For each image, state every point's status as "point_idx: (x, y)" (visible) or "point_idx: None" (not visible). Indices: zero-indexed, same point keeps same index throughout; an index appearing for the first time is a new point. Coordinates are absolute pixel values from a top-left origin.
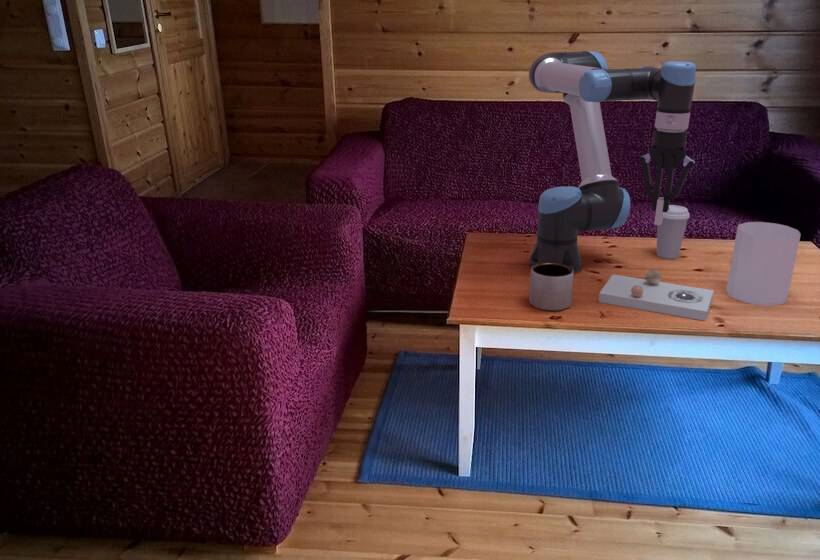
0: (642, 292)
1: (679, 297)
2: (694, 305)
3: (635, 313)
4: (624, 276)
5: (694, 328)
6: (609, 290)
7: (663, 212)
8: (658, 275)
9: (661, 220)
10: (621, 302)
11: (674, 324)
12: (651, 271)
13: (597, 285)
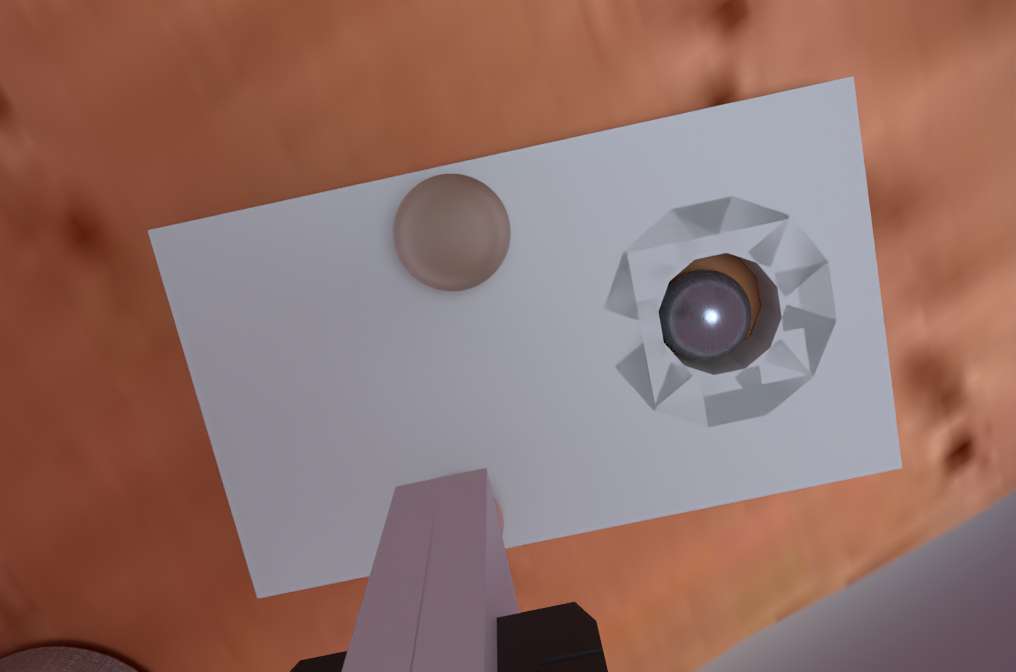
0: (503, 530)
1: (696, 358)
2: (812, 422)
3: (515, 585)
4: (234, 215)
5: (847, 573)
6: (284, 522)
7: (489, 559)
8: (498, 256)
9: (510, 599)
10: None
11: (743, 590)
12: (440, 266)
13: (126, 329)
